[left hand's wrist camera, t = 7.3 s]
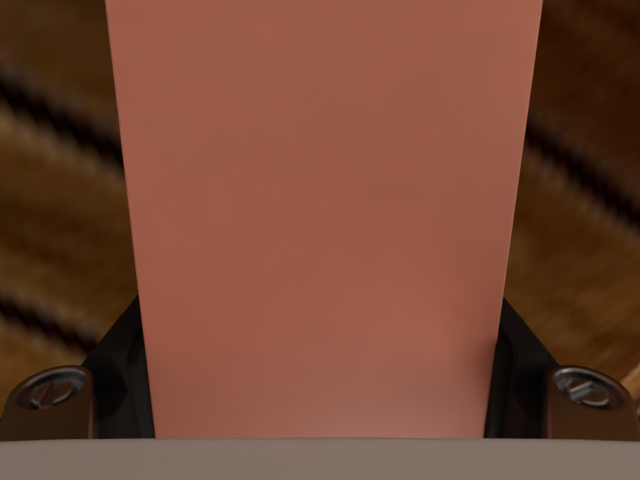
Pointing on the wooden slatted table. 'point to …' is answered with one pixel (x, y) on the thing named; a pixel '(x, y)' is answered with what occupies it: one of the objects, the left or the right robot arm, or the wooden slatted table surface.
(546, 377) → the left robot arm
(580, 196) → the wooden slatted table surface
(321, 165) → the cabinet
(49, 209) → the wooden slatted table surface
